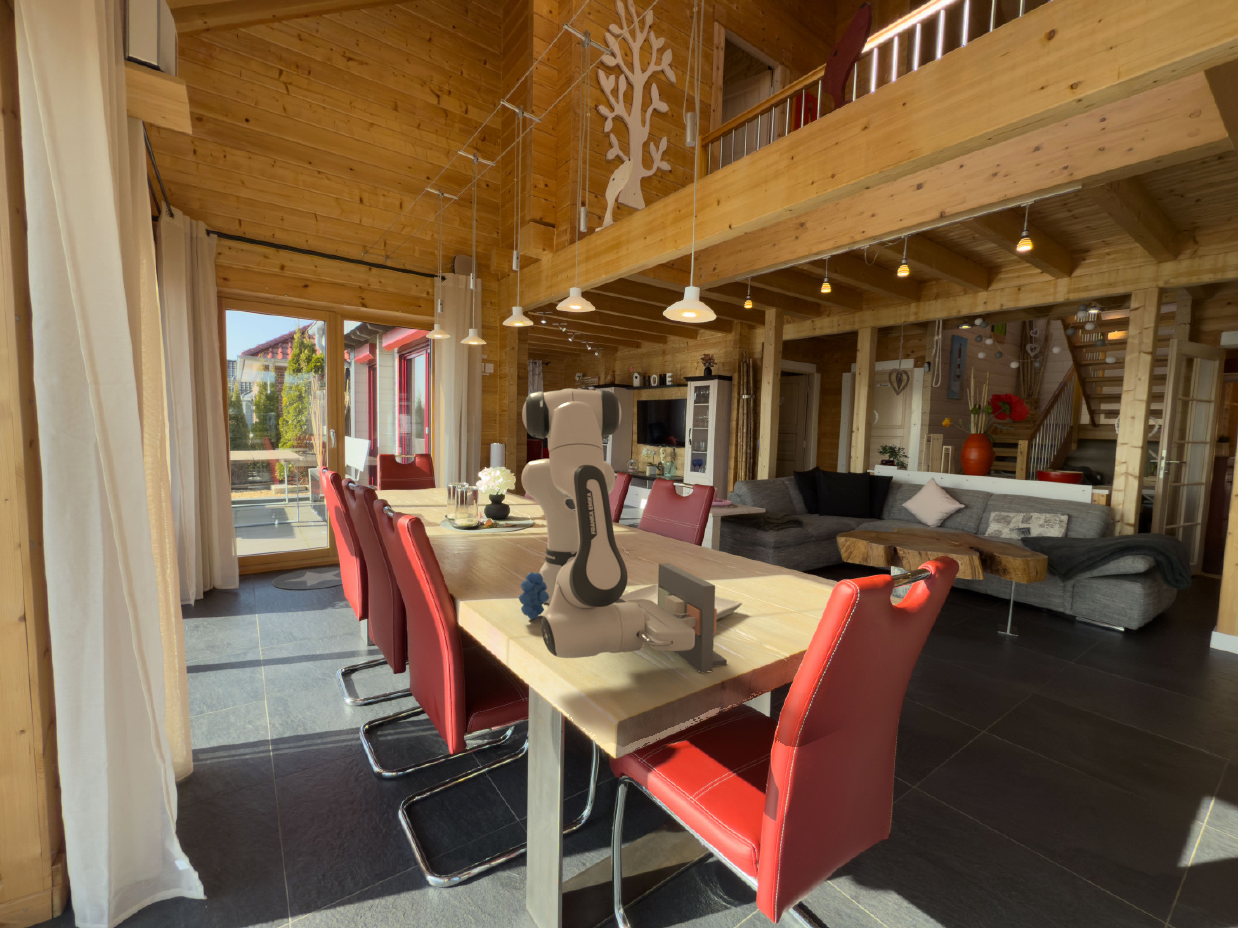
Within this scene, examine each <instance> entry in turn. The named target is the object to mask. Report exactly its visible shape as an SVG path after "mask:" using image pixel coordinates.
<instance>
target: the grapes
mask: <svg viewBox="0 0 1238 928" xmlns="http://www.w3.org/2000/svg"><path fill="white" fill-rule="evenodd" d="M519 587H521V588H520V589H521V591H523V592H522V593H521V594H519V596H518V600H519V602H520V604H522V606H521V608H520V610H521V613H522V614H523V615H524V616H526V617H527V618H529V619H530V620H531V619H532V620H535V619H537V617H538V616H540V615H542V614H543V612H544V611H545V608H544V606H543V605H544V604H546V603H545V602H546V601H547V600H548V599H549V595H548V593H547V592H546V591H545V590H546V589H547V586H546V584H545V582H543V577H542V575H541V574H540V572H533V571H531V572H529V573H528V574H527V575H526V576H525V579H524V580H523V581H522V582H521V583H520V586H519Z"/></svg>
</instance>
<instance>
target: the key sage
mask: <svg viewBox="0 0 1238 928" xmlns="http://www.w3.org/2000/svg"><path fill="white" fill-rule="evenodd" d="M665 596H670V591H668V590H666V589H665V588H663V587H659V601H658V606H660V607H661V608H663V609H664V610H665Z"/></svg>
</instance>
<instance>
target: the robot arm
mask: <svg viewBox="0 0 1238 928" xmlns="http://www.w3.org/2000/svg"><path fill="white" fill-rule="evenodd" d="M521 416H522V423H523V425H524V427H525V429H526V433H528V434H529V435H530V436H531V437H533V438H537V439H541V440H544V439H545V438H547V449H548V454H549V455H548V457H549V458H542V459H541V458H540V459H536V460H531V461H529V462H528V463H526V465H525V466H524V468H523V469H522V473H521V478H520V479H521V485H522V487H523V490H524V491H525V492H526V494H527V495H529V497H531V498H532V499H534V501H535V502H537V504H538V506H540V508H541V510H542V512H543V514H544V518H545V520H546V531H547V533H546V535H547V547H546V549H545V552H544V560H545V561H544V563H543V565H542V566H541V567H540V569H539V573H540V574H541V575H542V577H543V582H545V584H546V586H547V589H546V590H545V591H546V592H547V593H548V595H549V599H548V600H547V601H546V602H545V603H544V604H549V605H548V607H547V609H546V611H545V612H544V614H543V616H542V617H541V621H540V622H541V623H540V624H541V625H540V628H541V636H542V639H543V642H544V645H545V646H546V648H547V651H549V652H550V654H551V655H553V656H555V657H557V658H562V659H576V658H577V659H578V658H579V659H580V658H589V657H595V656H597V655H600V654H602V653H609V654H620V653H628V652H634V651H635V652H636V651H641V650H642V648H643V647H644V644H645V645H647V646H649V647H651V648H652V649H654V650H656V651H659V652H674V651H684V650H691V649H692V648H693V647H694V645H695V630H694V629H693V628H691V627H694V626H695V625H696V619H695V618H694V617H692V616H691V615H689V614H688V613H686V614H679V613H672V612H670V613H669V612H667V611H666V610H664V609H663V608H661V607H660V606H658V605H657V604H655V603H654V602H653V601H651V600H646V599H628V600H623V599H621V598H620V597H621V596H622V595H623V594H625V591H626V588H627V585H628V570H627V565H626V562H625V561H624V558H623V557H622V554H621V553H620V550H619V548H618V546H617V542H616V538H615V533H614V525H613V518H612V510H611V505H610V498H609V497H610V496H609V495H610V494H611V493H612V491H613V490H614V489H615V486H616V485H615V484H616V480H617V479H616V474H615V470H614V468H613V467H612V466H611V464H610V463H609V462H607V461H605V459H604V458H605V455H604V443H603V438H604V437H609V436H612V435H614V434H615V433H616V431H618V430H619V426H620V424H621V421H622V407H621V404H620V401H619V398H618V396H617V395H616V394H614V392H612V391H609V390H603V389H600V390H595V389H594V390H592V389H583V388H582V389H581V388H579V389H578V388H571V387H570V388H563V389H561V390H551V391H545V392H544V391H541V390H540V391H535V392H532V393H530V394H529V395H528V396H527V397H526V399H525V401H524V404H523V406H522V413H521ZM570 499H571V500H572V502H573V504H574V509H575V510H573V509H571V508H569V507H568V505H567V504H566V500H570Z"/></svg>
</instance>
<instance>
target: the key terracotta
mask: <svg viewBox="0 0 1238 928" xmlns="http://www.w3.org/2000/svg"><path fill="white" fill-rule="evenodd" d="M687 613H688V614H689V615H691V616H692V617H694V618H695V619H696V625H695V626H694V627H691V628H693V629H694V630H695V634H697V635H698V636H699V635H701V610H700V609H699V608H697V607H695V606H694V605H692V604H687ZM717 620H718V619H717V609H715V608H714V635H716V634H717Z"/></svg>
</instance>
